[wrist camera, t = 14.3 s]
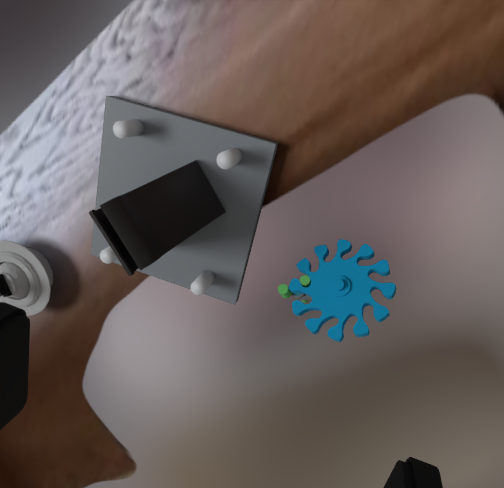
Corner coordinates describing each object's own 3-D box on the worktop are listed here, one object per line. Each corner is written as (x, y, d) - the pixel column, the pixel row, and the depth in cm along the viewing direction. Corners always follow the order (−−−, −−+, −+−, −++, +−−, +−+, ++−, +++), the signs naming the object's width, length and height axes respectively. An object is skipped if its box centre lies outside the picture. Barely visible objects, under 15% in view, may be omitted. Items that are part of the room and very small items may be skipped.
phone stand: (197, 159, 42) (138, 181, 31) (227, 211, 43) (179, 251, 32) (131, 198, 45) (56, 231, 34) (160, 246, 46) (96, 293, 35)
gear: (397, 236, 39) (392, 343, 35) (400, 262, 44) (396, 358, 40) (284, 236, 43) (268, 331, 39) (299, 259, 48) (286, 345, 44)
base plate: (278, 142, 40) (269, 147, 36) (237, 299, 47) (226, 317, 43) (112, 95, 43) (87, 95, 39) (97, 251, 50) (74, 264, 46)
